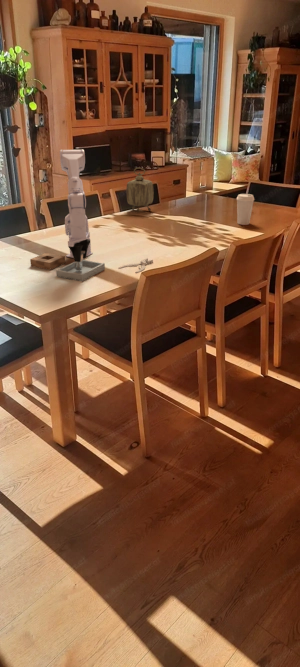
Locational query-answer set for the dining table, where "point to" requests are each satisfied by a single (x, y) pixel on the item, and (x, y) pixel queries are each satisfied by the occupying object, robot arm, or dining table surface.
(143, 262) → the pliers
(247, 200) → the coffee cup
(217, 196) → the dining table surface
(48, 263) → the brown square frame
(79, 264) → the pin
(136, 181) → the tabletop clock
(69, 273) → the tray
